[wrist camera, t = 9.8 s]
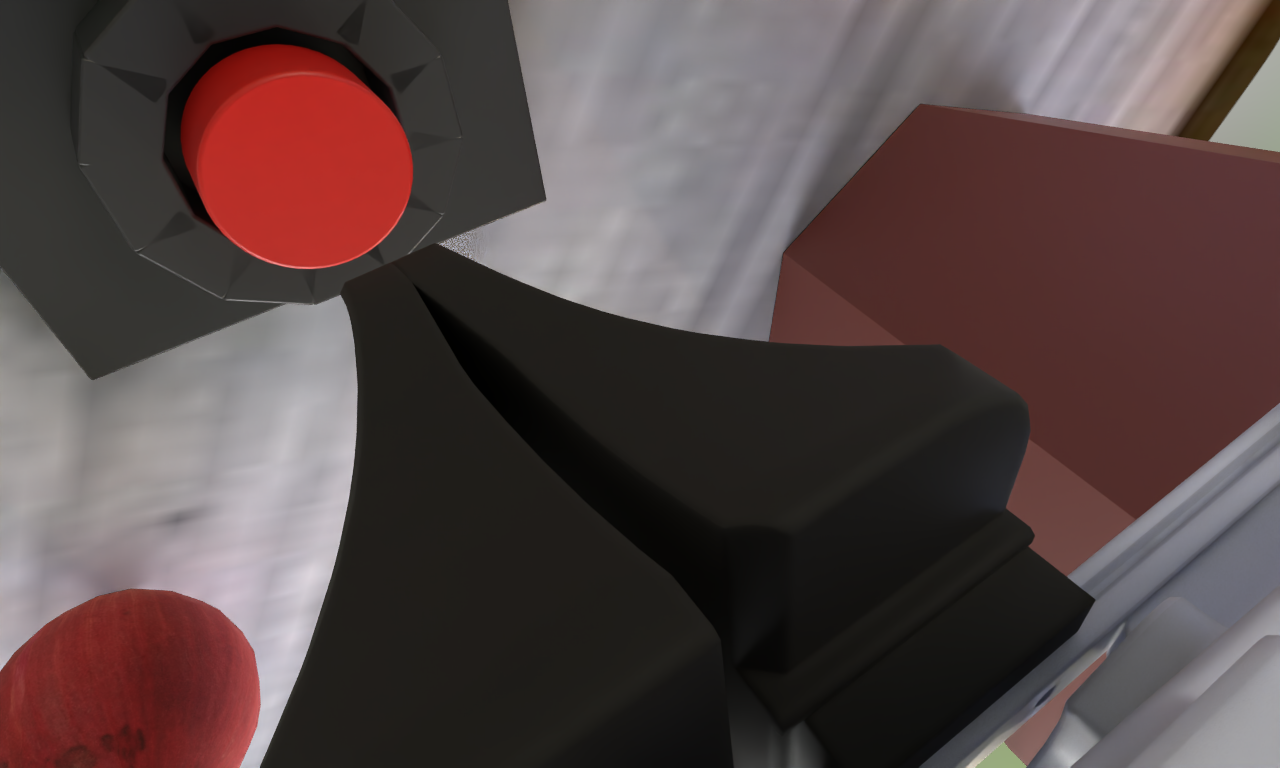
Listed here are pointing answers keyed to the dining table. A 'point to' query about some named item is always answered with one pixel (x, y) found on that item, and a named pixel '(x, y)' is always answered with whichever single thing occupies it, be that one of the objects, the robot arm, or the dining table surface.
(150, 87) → the button housing
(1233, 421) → the bucket
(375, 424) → the robot arm
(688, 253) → the dining table surface
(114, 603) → the onion
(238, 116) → the button
